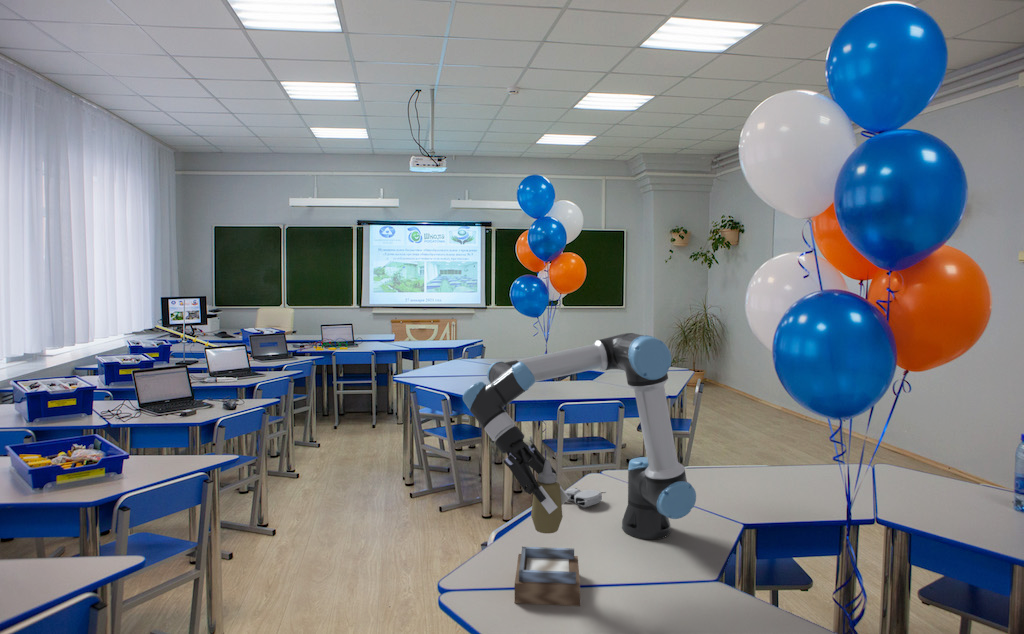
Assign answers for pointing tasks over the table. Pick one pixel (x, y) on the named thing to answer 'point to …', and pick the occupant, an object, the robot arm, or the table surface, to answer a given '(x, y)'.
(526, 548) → the dock
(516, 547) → the table surface
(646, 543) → the table surface
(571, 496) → the robot toy
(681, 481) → the robot arm
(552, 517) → the squeeze bottle
